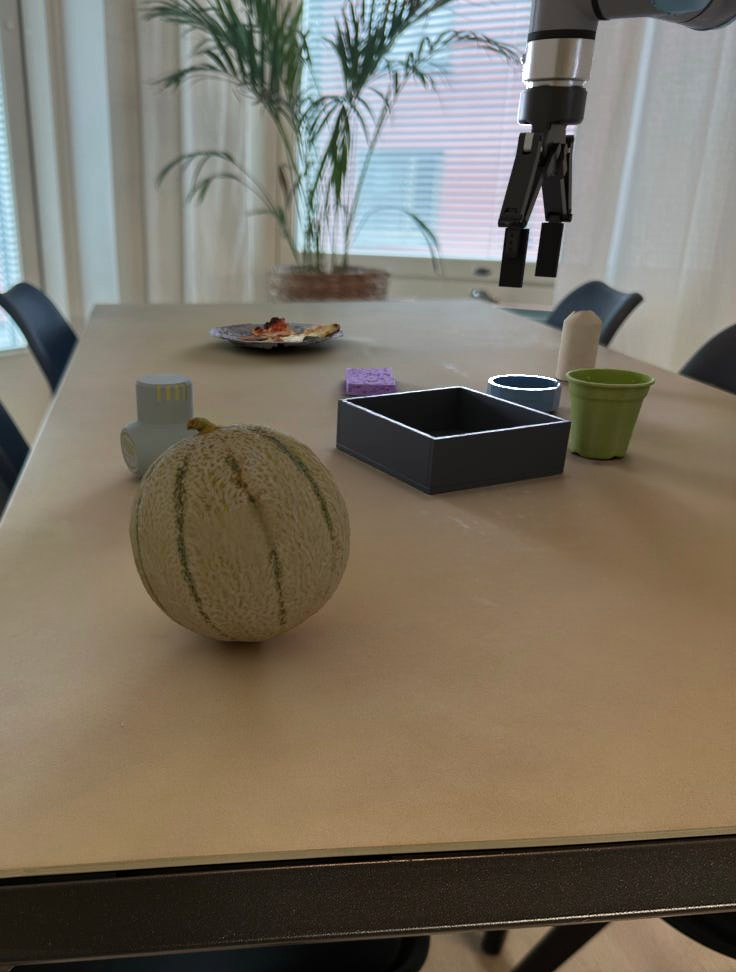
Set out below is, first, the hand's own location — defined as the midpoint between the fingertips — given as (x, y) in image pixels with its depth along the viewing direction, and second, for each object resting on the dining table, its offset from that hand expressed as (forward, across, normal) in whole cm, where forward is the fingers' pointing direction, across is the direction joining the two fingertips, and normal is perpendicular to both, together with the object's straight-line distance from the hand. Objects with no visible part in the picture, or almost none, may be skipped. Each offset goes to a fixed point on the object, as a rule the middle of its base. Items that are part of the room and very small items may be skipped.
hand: (528, 282), depth 115 cm
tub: (+16, +27, +2) cm, 32 cm away
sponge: (+16, -2, -23) cm, 28 cm away
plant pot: (+16, +15, +15) cm, 27 cm away
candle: (+16, -25, +1) cm, 30 cm away
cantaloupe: (+16, +74, +6) cm, 77 cm away
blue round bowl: (+16, -2, +1) cm, 16 cm away
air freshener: (+16, +48, -21) cm, 55 cm away
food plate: (+17, -27, -54) cm, 63 cm away
